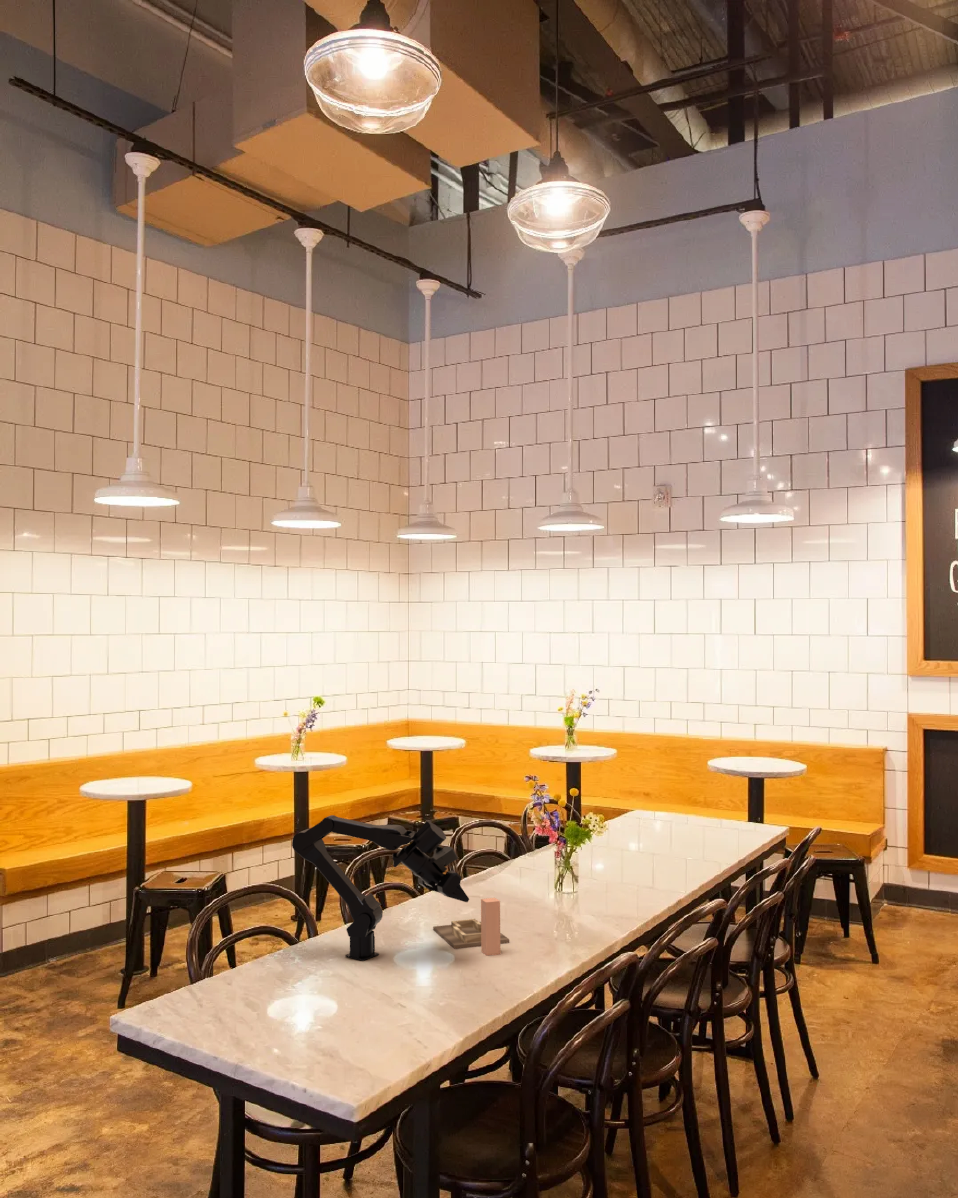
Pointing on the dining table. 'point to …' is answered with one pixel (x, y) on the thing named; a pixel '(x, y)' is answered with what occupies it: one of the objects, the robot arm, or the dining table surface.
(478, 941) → the square socket board
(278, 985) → the dining table surface
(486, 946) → the terracotta post
